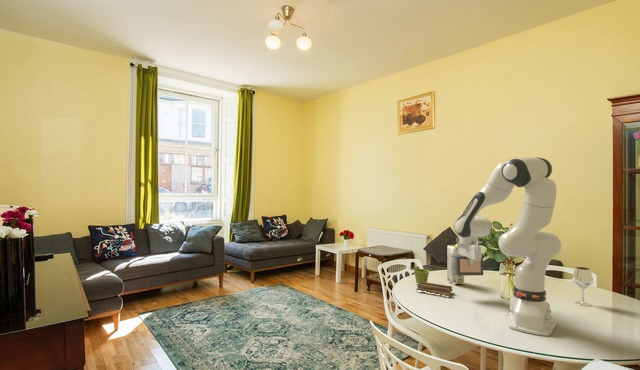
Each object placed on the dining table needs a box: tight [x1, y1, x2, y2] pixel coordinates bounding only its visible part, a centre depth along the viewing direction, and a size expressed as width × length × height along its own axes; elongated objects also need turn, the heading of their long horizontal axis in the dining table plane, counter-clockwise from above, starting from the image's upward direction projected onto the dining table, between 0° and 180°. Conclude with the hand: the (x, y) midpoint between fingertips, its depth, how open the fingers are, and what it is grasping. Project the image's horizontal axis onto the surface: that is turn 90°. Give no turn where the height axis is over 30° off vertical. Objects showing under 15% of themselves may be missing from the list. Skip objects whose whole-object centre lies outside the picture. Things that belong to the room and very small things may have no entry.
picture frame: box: [455, 255, 484, 276], centre depth 175 cm, size 3×14×10 cm, turn 91°
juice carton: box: [446, 243, 465, 285], centre depth 200 cm, size 9×8×24 cm
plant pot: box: [413, 268, 430, 284], centre depth 196 cm, size 9×9×9 cm
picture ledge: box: [416, 281, 453, 297], centre depth 181 cm, size 10×17×4 cm, turn 56°
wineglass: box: [572, 266, 594, 307], centre depth 164 cm, size 8×8×18 cm
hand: (469, 266), depth 175 cm, fingers closed on picture frame, 3 cm apart
